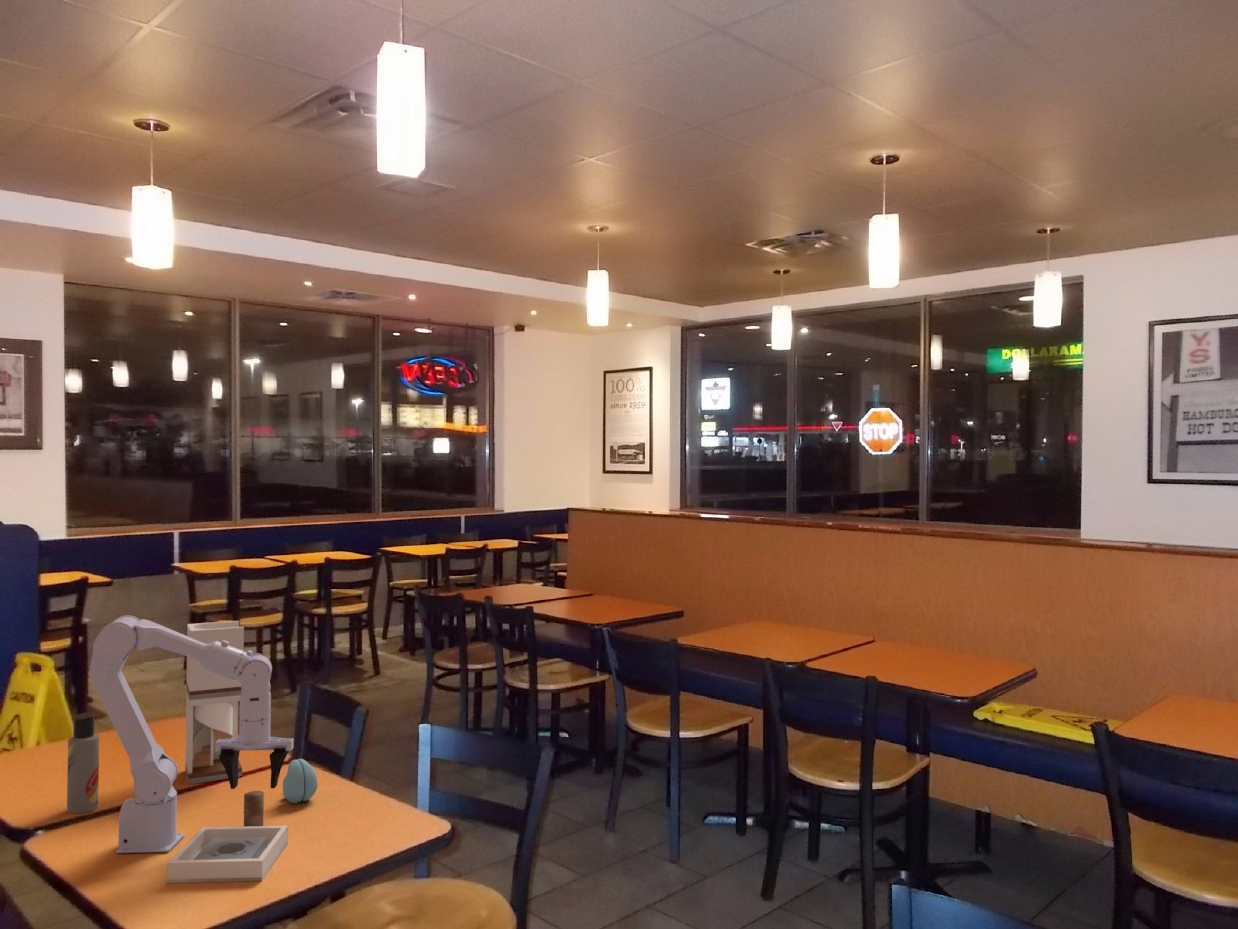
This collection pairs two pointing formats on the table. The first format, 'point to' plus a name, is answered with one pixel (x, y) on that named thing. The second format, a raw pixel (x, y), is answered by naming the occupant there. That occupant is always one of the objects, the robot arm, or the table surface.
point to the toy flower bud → (299, 781)
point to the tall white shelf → (210, 705)
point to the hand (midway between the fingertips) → (254, 787)
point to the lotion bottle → (83, 766)
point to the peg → (253, 808)
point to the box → (228, 854)
